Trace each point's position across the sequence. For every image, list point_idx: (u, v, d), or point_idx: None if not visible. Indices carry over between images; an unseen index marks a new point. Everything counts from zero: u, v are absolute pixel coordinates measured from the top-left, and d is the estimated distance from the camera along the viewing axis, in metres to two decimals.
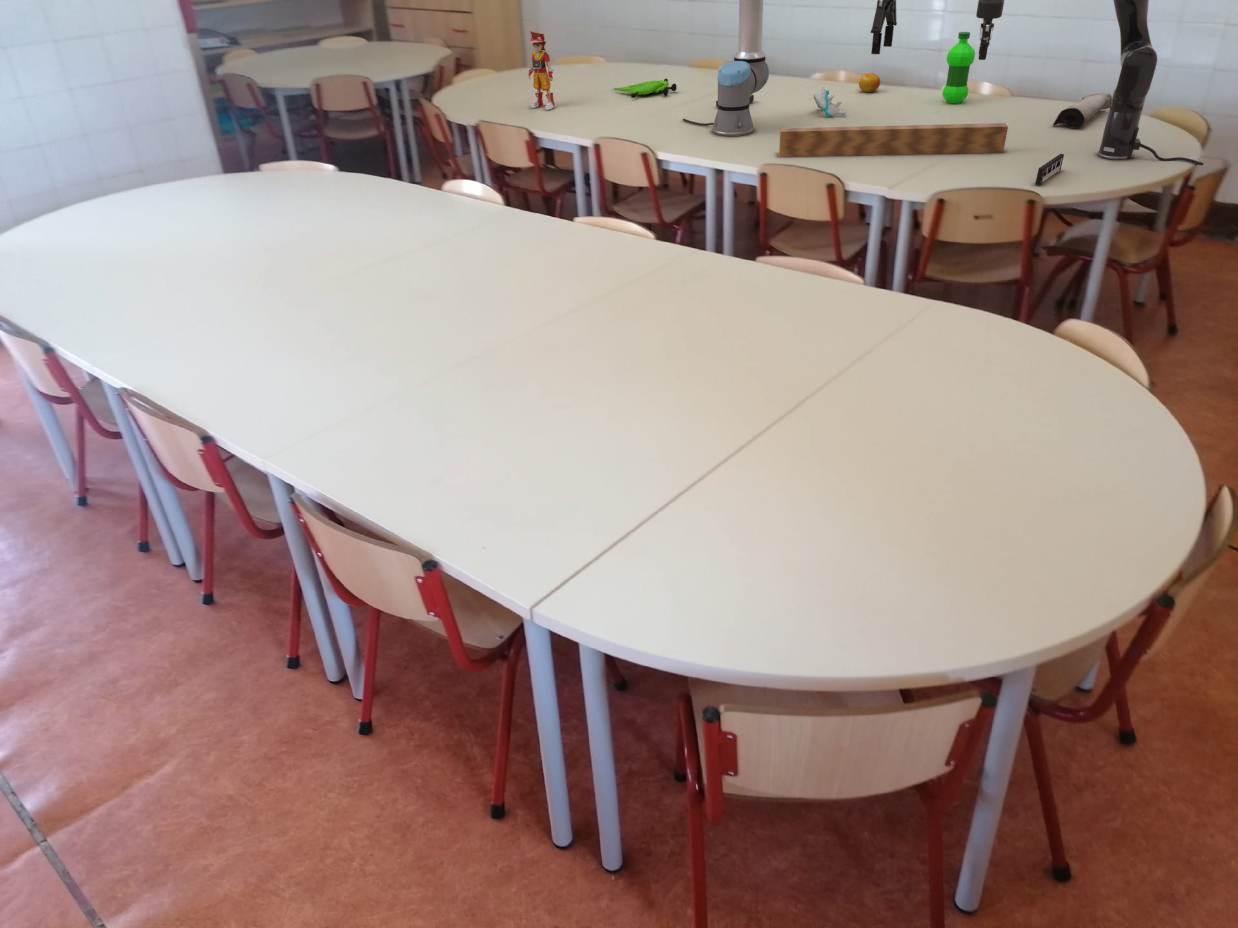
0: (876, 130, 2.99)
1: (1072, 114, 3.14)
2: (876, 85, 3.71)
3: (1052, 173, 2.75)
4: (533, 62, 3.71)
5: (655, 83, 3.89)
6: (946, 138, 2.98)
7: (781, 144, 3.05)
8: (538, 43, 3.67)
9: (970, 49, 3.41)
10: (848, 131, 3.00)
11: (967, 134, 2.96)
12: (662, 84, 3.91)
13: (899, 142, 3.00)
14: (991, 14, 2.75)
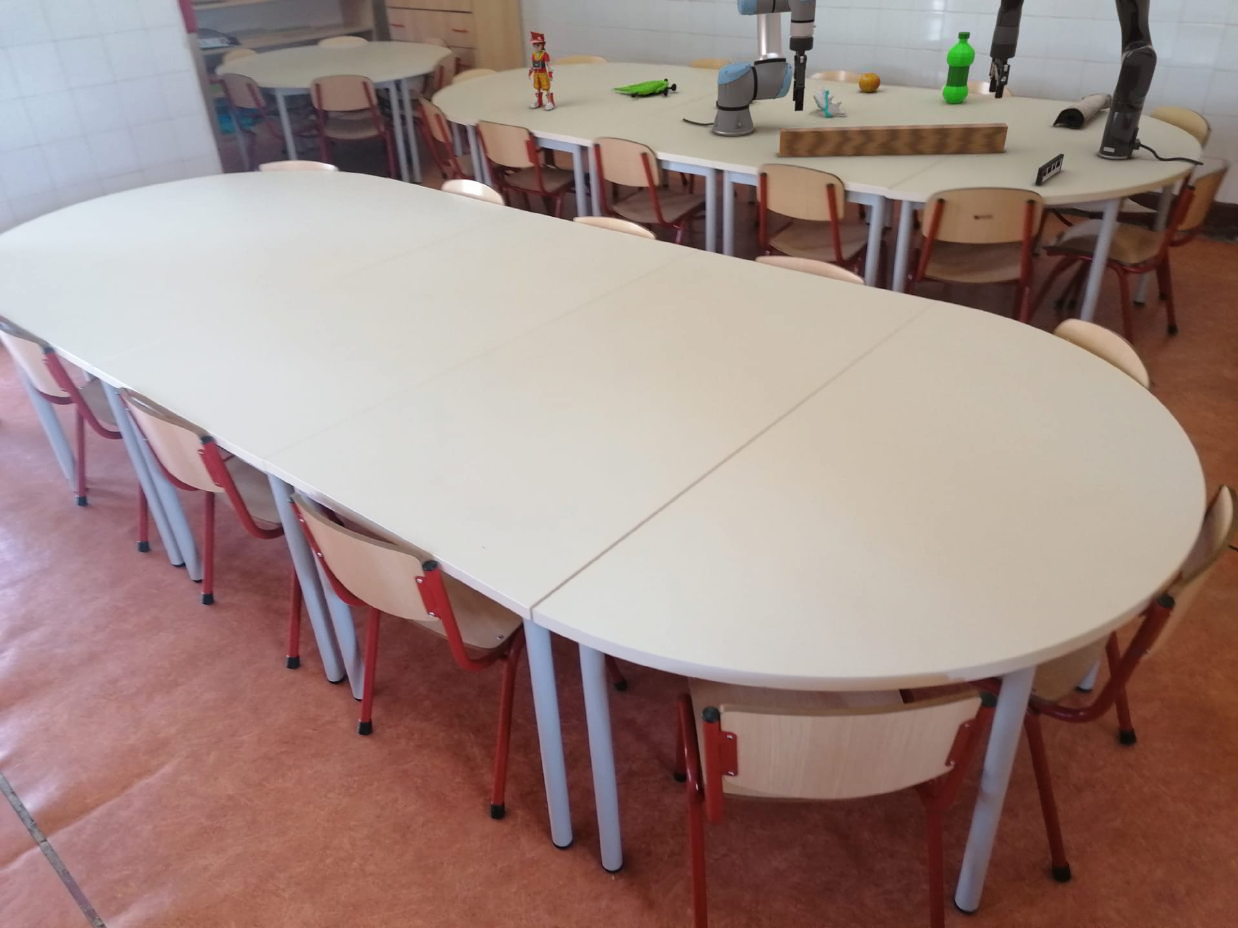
0: (876, 130, 2.99)
1: (1072, 114, 3.14)
2: (876, 85, 3.71)
3: (1052, 173, 2.75)
4: (533, 62, 3.71)
5: (655, 83, 3.89)
6: (946, 138, 2.98)
7: (781, 144, 3.05)
8: (538, 43, 3.67)
9: (970, 49, 3.41)
10: (848, 131, 3.00)
11: (967, 134, 2.96)
12: (662, 84, 3.91)
13: (899, 142, 3.00)
14: (1007, 54, 2.80)
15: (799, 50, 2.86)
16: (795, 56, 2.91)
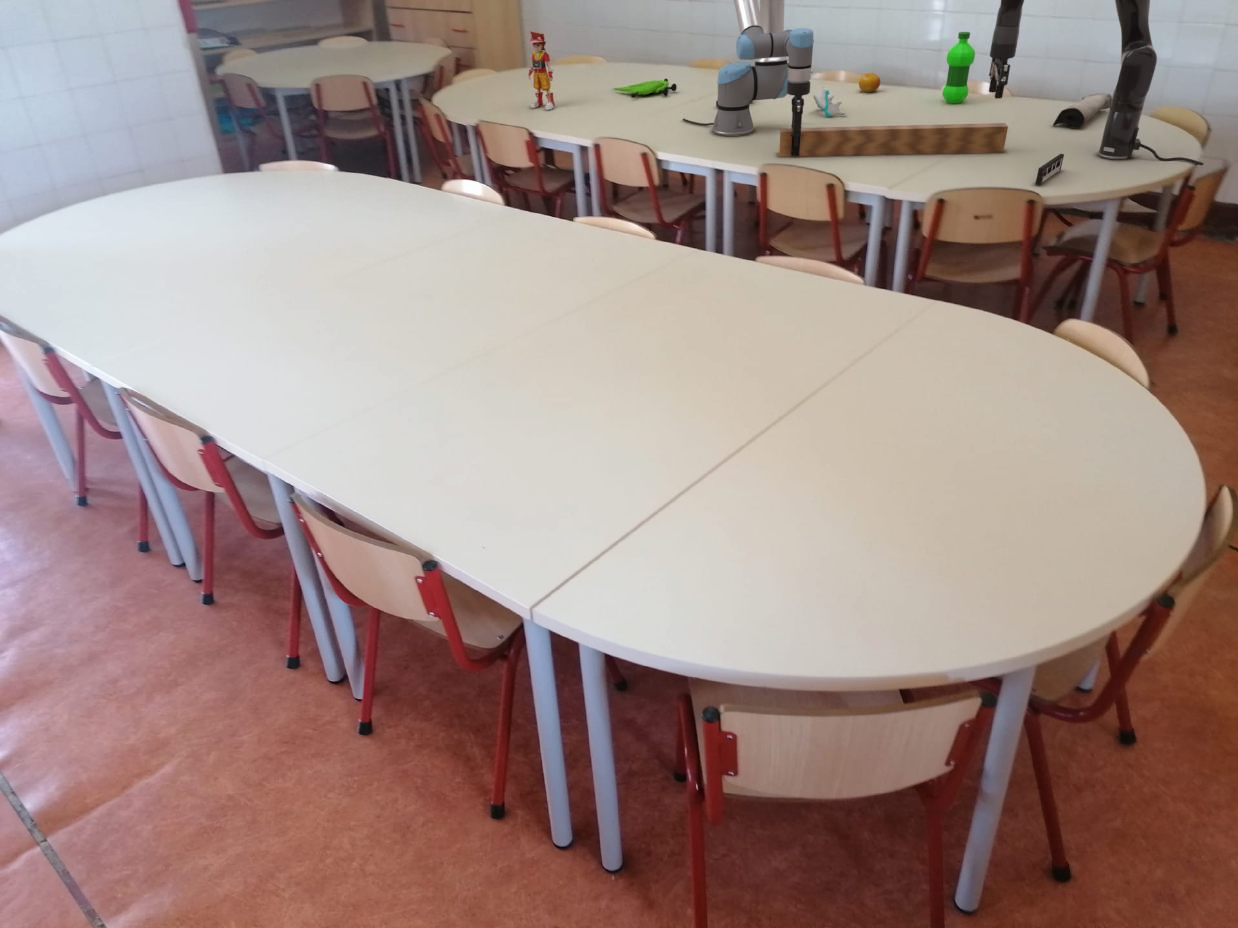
0: (876, 130, 2.99)
1: (1072, 114, 3.14)
2: (876, 85, 3.71)
3: (1052, 173, 2.75)
4: (533, 62, 3.71)
5: (655, 83, 3.89)
6: (946, 138, 2.98)
7: (781, 144, 3.05)
8: (538, 43, 3.67)
9: (970, 49, 3.41)
10: (848, 131, 3.00)
11: (967, 134, 2.96)
12: (662, 84, 3.91)
13: (899, 142, 3.00)
14: (1007, 54, 2.80)
15: (796, 95, 2.94)
16: (792, 99, 2.99)
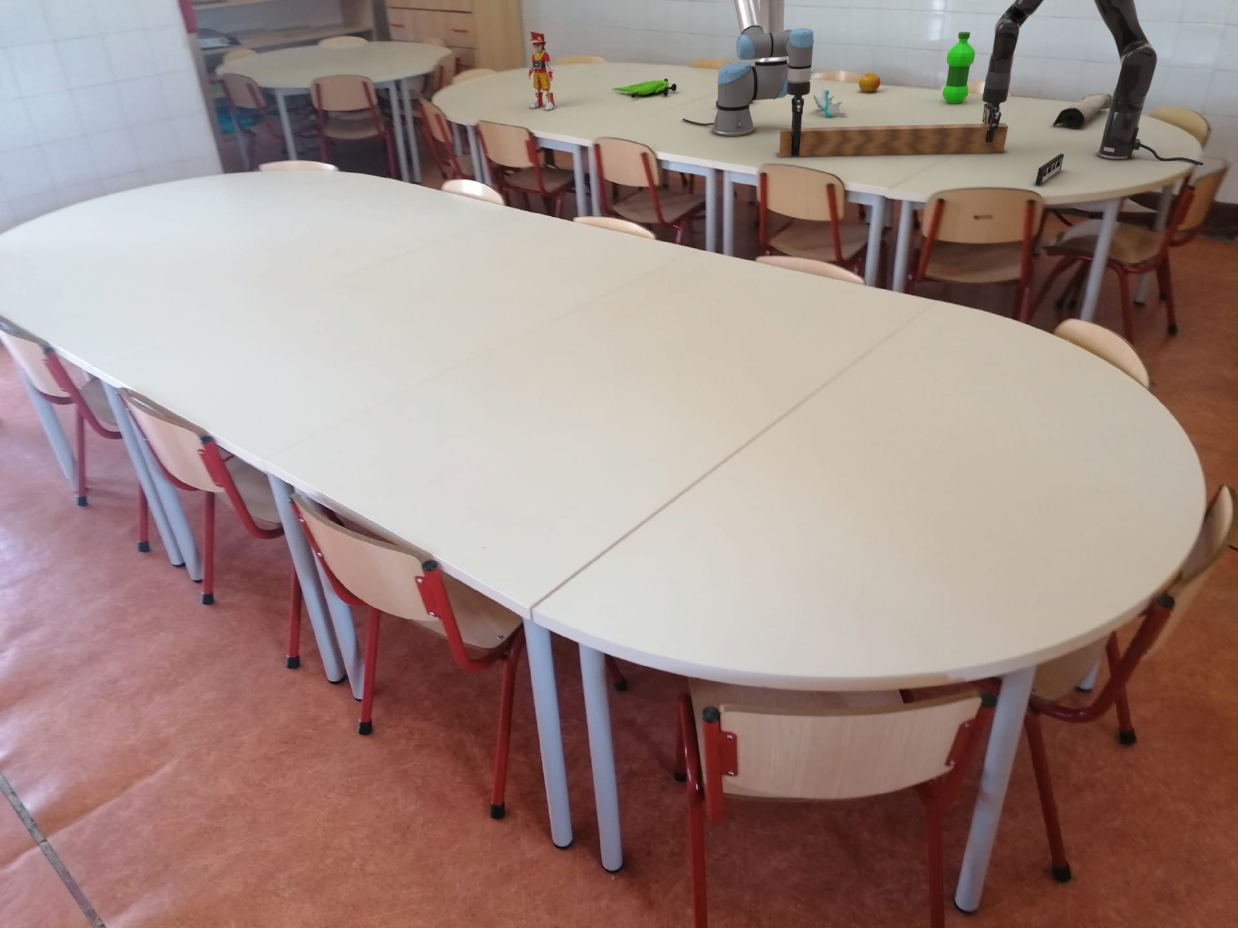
0: (876, 130, 2.99)
1: (1072, 114, 3.14)
2: (876, 85, 3.71)
3: (1052, 173, 2.75)
4: (533, 62, 3.71)
5: (655, 83, 3.89)
6: (946, 138, 2.98)
7: (781, 144, 3.05)
8: (538, 43, 3.67)
9: (970, 49, 3.41)
10: (848, 131, 3.00)
11: (967, 134, 2.96)
12: (662, 84, 3.91)
13: (899, 142, 3.00)
14: (999, 98, 2.87)
15: (796, 95, 2.94)
16: (792, 99, 2.99)
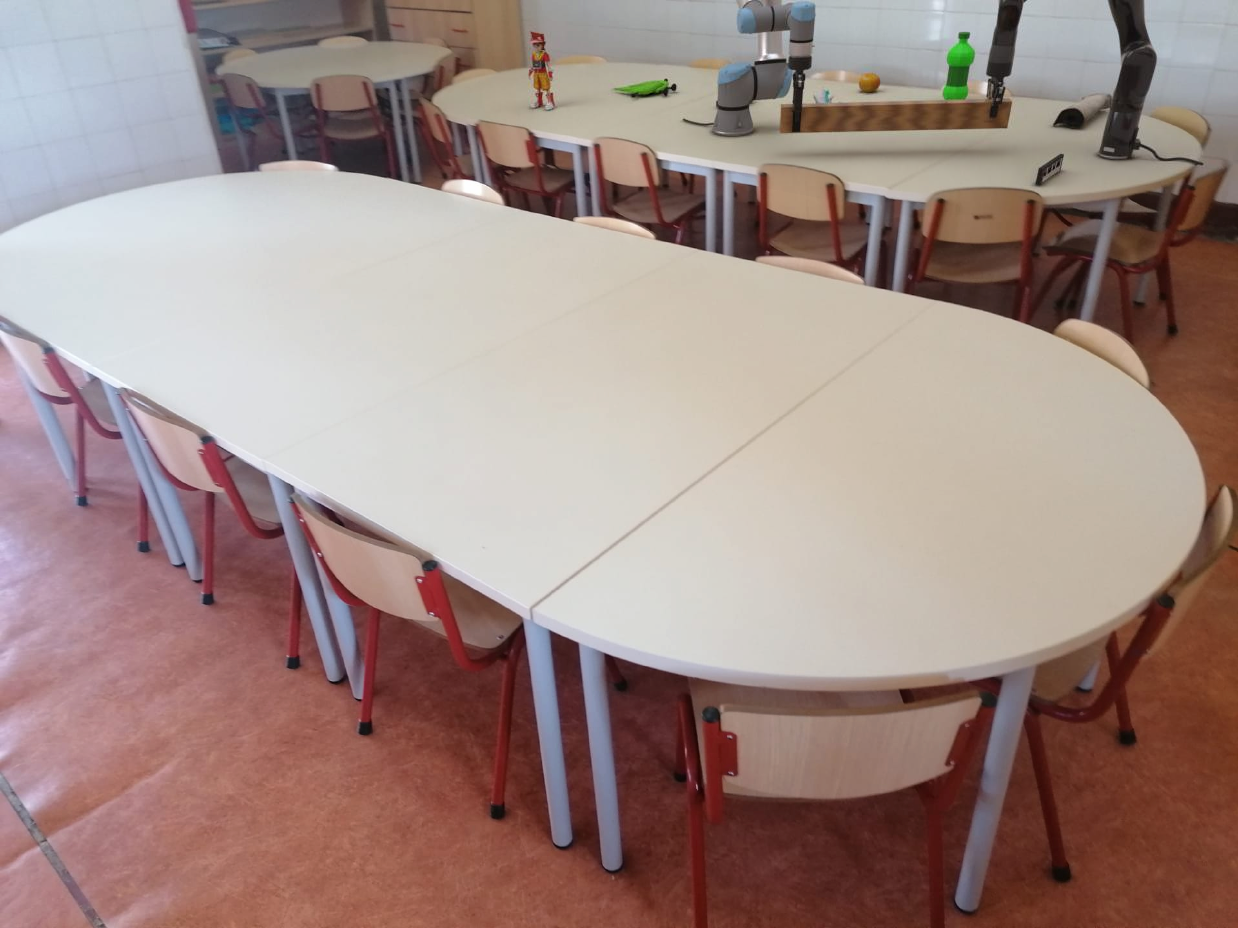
0: (878, 106, 2.94)
1: (1072, 114, 3.14)
2: (876, 85, 3.71)
3: (1052, 173, 2.75)
4: (533, 62, 3.71)
5: (655, 83, 3.89)
6: (949, 114, 2.93)
7: (782, 120, 3.01)
8: (538, 43, 3.67)
9: (970, 49, 3.41)
10: (850, 107, 2.96)
11: (971, 110, 2.92)
12: (662, 84, 3.91)
13: (902, 118, 2.96)
14: (1003, 72, 2.83)
15: (798, 69, 2.89)
16: (794, 74, 2.95)
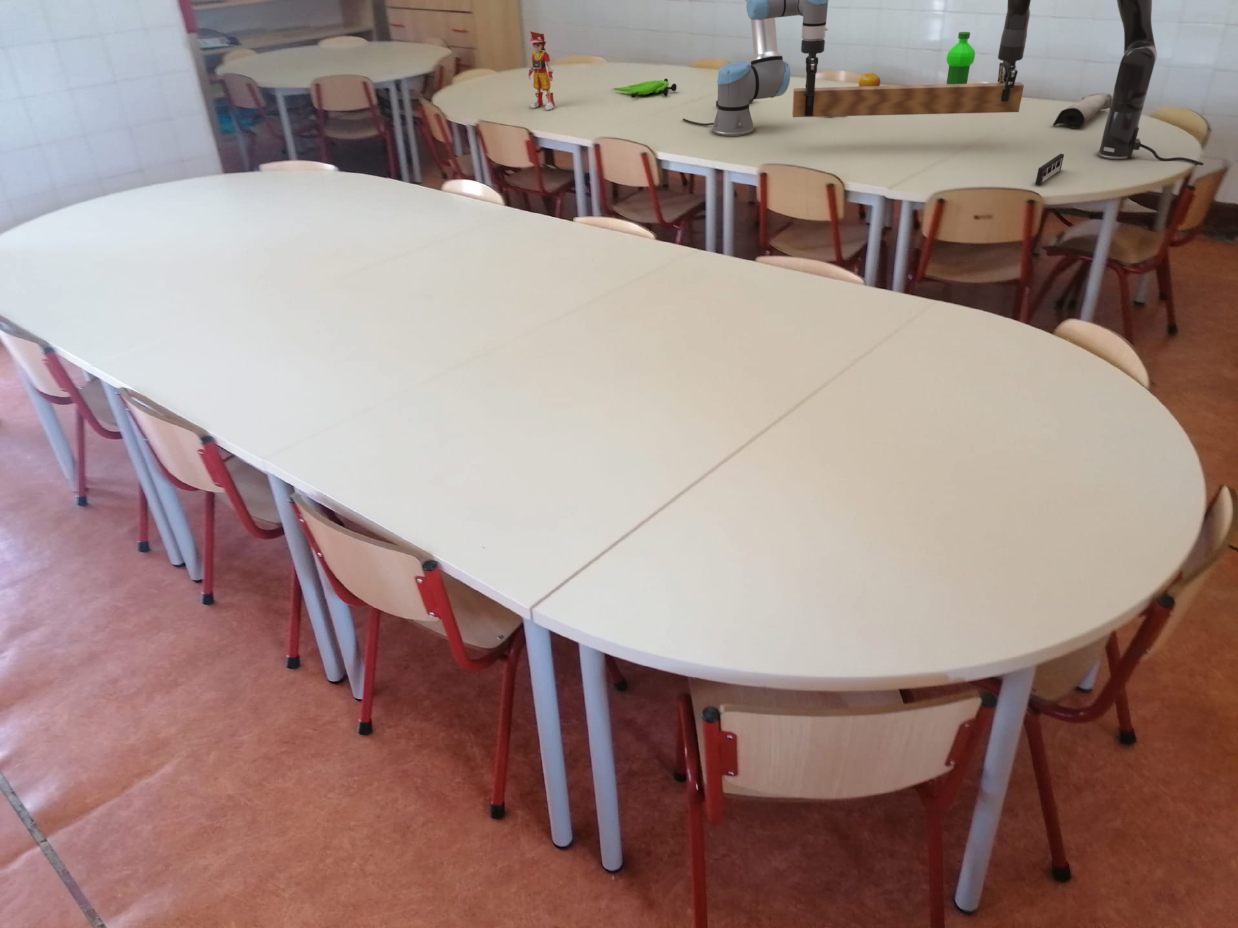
0: (891, 90, 2.97)
1: (1072, 114, 3.14)
2: (876, 85, 3.71)
3: (1052, 173, 2.75)
4: (533, 62, 3.71)
5: (655, 83, 3.89)
6: (961, 98, 2.96)
7: (795, 104, 3.03)
8: (538, 43, 3.67)
9: (970, 49, 3.41)
10: (862, 90, 2.98)
11: (983, 93, 2.94)
12: (662, 84, 3.91)
13: (914, 102, 2.98)
14: (1015, 56, 2.86)
15: (810, 53, 2.92)
16: (807, 58, 2.97)
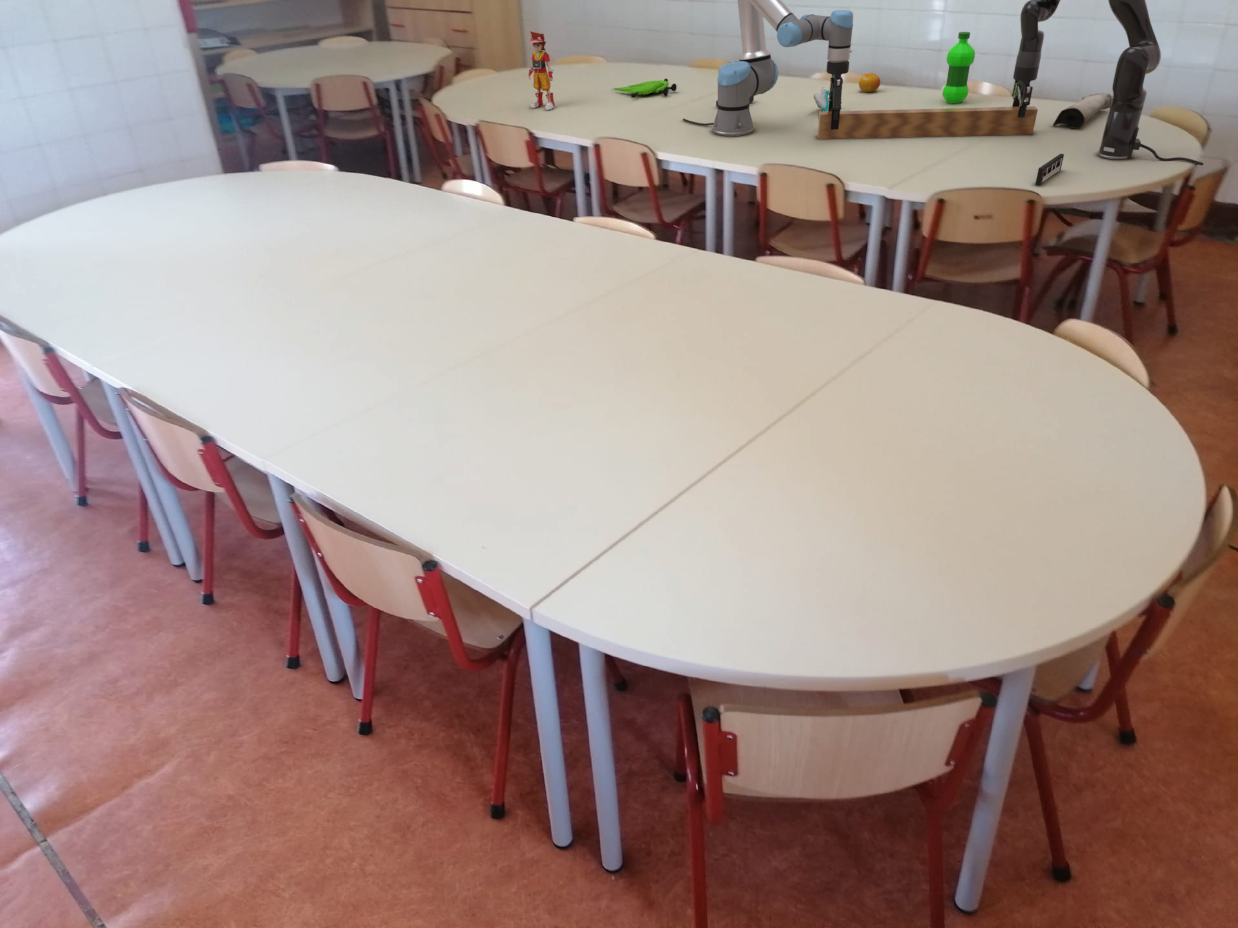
0: (912, 113, 3.14)
1: (1072, 114, 3.14)
2: (876, 85, 3.71)
3: (1052, 173, 2.75)
4: (533, 62, 3.71)
5: (655, 83, 3.89)
6: (978, 121, 3.13)
7: (820, 126, 3.20)
8: (538, 43, 3.67)
9: (970, 49, 3.41)
10: (885, 114, 3.15)
11: (999, 117, 3.11)
12: (662, 84, 3.91)
13: (934, 124, 3.15)
14: (1029, 77, 3.02)
15: (836, 73, 3.08)
16: (831, 78, 3.13)
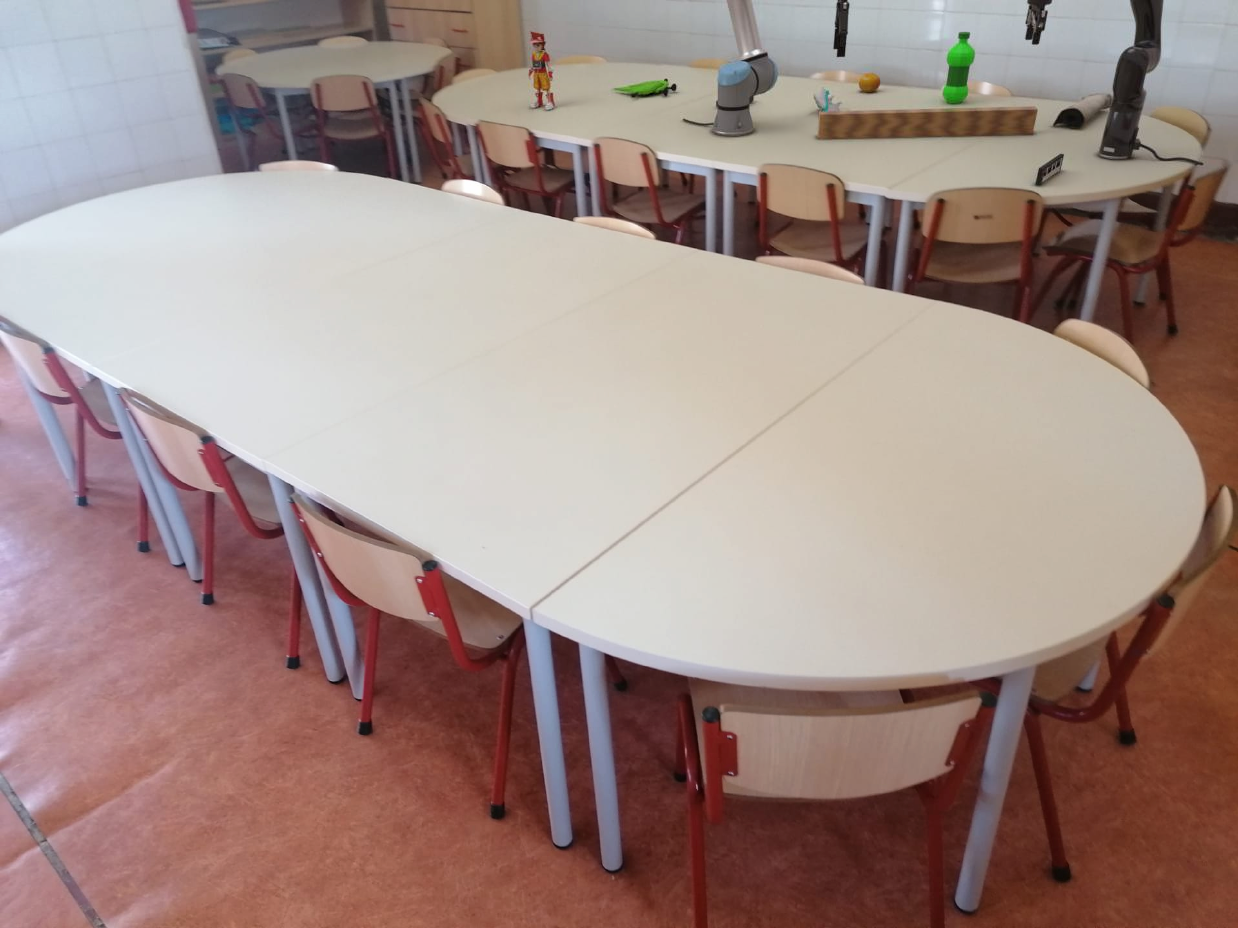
0: (912, 113, 3.14)
1: (1072, 114, 3.14)
2: (876, 85, 3.71)
3: (1052, 173, 2.75)
4: (533, 62, 3.71)
5: (655, 83, 3.89)
6: (978, 121, 3.13)
7: (820, 126, 3.20)
8: (538, 43, 3.67)
9: (970, 49, 3.41)
10: (885, 114, 3.15)
11: (999, 117, 3.11)
12: (662, 84, 3.91)
13: (934, 124, 3.15)
14: (1044, 0, 2.89)
15: None
16: (837, 3, 3.00)
